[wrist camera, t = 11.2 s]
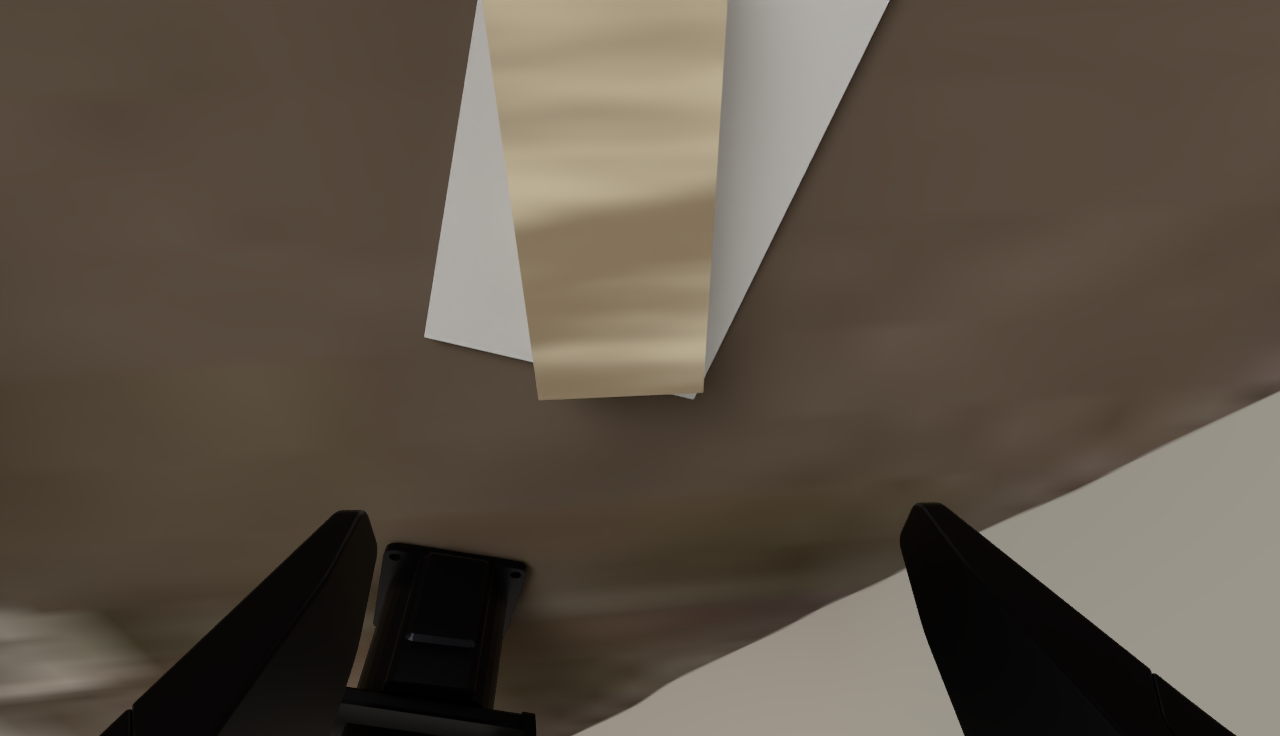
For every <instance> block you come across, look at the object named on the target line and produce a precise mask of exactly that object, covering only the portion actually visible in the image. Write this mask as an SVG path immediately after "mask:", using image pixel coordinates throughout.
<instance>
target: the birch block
mask: <svg viewBox="0 0 1280 736" xmlns="http://www.w3.org/2000/svg"><path fill="white" fill-rule="evenodd" d="M482 4H483V11H484V18H485V25H486V32H487V39H488V46H489V53H490V60H491V68H492V75H493V82H494V89H495V96H496V103H497V110H498V117H499V124H500V131H501V138H502V145H503V152H504V159H505V166H506V173H507V181H508V188H509V195H510V202H511V209H512V216H513V223H514V230H515V237H516V244H517V251H518V258H519V265H520V272H521V279H522V286H523V293H524V301H525V308H526V315H527V322H528V329H529V336H530V343H531V350H532V357H533V364H534V371H535V378H536V385H537V392H538V399H539V400H555V399H577V398H599V397H621V396H644V395H666V394H688V393H703V388H704V372H705V356H706V340H707V324H708V308H709V292H710V276H711V260H712V244H713V228H714V212H715V196H716V180H717V164H718V148H719V132H720V116H721V100H722V84H723V68H724V52H725V36H726V20H727V4H728V0H482Z"/></svg>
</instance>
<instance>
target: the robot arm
mask: <svg viewBox="0 0 1280 736" xmlns="http://www.w3.org/2000/svg"><path fill="white" fill-rule="evenodd" d="M900 547H901V551H902V555H903V559H904V562H905V566H906V569H907V573H908V577H909V580H910V584H911V587H912V591H913V594H914V598H915V602H916V605H917V609H918V613H919V616H920V620H921V623H922V626H923V629H924V633H925V635H926V638H927V641H928V644H929V646H930V649H931V652H932V654H933V657H934V659H935V662H936V664H937V667H938V669H939V672H940V674H941V677H942V679H943V682H944V685H945V687H946V690H947V692H948V695H949V697H950V700H951V702H952V705H953V707H954V710H955V712H956V715H957V718H958V720H959V722H960V725H961V728H962V730H963V733H964V735H965V736H1236V735H1235V734H1233V733H1232V732H1231V731H1229V730H1228V729H1226V728H1225V727H1224V726H1222V725H1221V724H1220V723H1218V722H1217V721H1216V720H1215V719H1213V718H1212V717H1211V716H1209V715H1208V714H1207V713H1206V712H1204V711H1203V710H1201V709H1200V708H1199V707H1198V706H1197V705H1195V704H1194V703H1193V702H1191V701H1190V700H1189V699H1187V698H1186V697H1185V696H1184V695H1182V694H1181V693H1180V692H1178V691H1177V690H1176V689H1175V688H1173V687H1172V686H1171V685H1170V684H1168V683H1167V682H1166V681H1164V680H1163V679H1162V678H1161V677H1159V676H1158V675H1157V674H1154V673H1153V674H1152V673H1151V670H1150V669H1149V668H1148V667H1147V666H1146V665H1144V664H1143V663H1142V662H1141V661H1139V660H1138V659H1137V658H1136V657H1134V656H1133V655H1132V654H1131V653H1129V652H1128V651H1127V650H1125V649H1124V648H1123V647H1122V646H1120V645H1119V644H1118V643H1117V642H1115V641H1114V640H1113V639H1112V638H1110V637H1109V636H1108V635H1107V634H1105V633H1104V632H1103V631H1102V630H1100V629H1099V628H1098V627H1097V626H1095V625H1094V624H1093V623H1092V622H1090V621H1089V620H1088V619H1087V618H1085V617H1084V616H1083V615H1082V614H1080V613H1079V612H1078V611H1076V610H1075V609H1074V608H1073V607H1071V606H1070V605H1069V604H1068V603H1066V602H1065V601H1064V600H1063V599H1061V598H1060V597H1059V596H1058V595H1056V594H1055V593H1054V592H1053V591H1051V590H1050V589H1049V588H1048V587H1046V586H1045V585H1044V584H1043V583H1041V582H1040V581H1039V580H1038V579H1036V578H1035V577H1034V576H1033V575H1031V574H1030V573H1029V572H1027V571H1026V570H1025V569H1024V568H1022V567H1021V566H1020V565H1018V564H1017V563H1016V562H1015V561H1014V560H1012V559H1011V558H1010V557H1009V556H1007V555H1006V554H1005V553H1004V552H1002V551H1001V550H1000V549H998V548H997V547H996V546H995V545H994V544H992V543H991V542H990V541H989V540H987V539H986V538H985V537H984V536H982V535H981V534H980V533H979V532H977V531H976V530H975V529H973V528H972V527H971V526H970V525H968V524H967V523H966V522H965V521H963V520H962V519H961V518H960V517H958V516H957V515H956V514H955V513H953V512H952V511H951V510H950V509H948V508H947V507H946V506H944V505H943V504H941V503H935V502H934V503H917V504H915V505H914V506H913V507H912V509H911V511H910V514H909V516H908V518H907V520H906V522H905V525H904V527H903V529H902V531H901V534H900ZM376 557H377V543H376V539H375V536H374V533H373V530H372V527H371V524H370V520H369V517H368V515H367V513H366V512H365V511H363V510H341V511H338V512H336V513H334V514H333V515H332V516H331V517H330V518H329V519H328V520H327V521H326V522H325V523H324V524H322V525H321V526H320V527H319V528H318V529H317V530H316V531H315V532H314V533H313V534H312V535H311V536H310V537H309V538H308V539H307V540H306V541H305V542H303V543H302V544H301V545H300V546H299V547H298V548H297V549H296V550H295V551H294V552H293V553H292V554H291V555H290V556H289V557H288V558H287V559H286V560H284V561H283V562H282V563H281V564H280V565H279V566H278V567H277V568H276V569H275V570H274V571H273V572H272V573H271V574H270V575H269V576H268V577H267V578H265V579H264V580H263V581H262V582H261V583H260V584H259V585H258V586H257V587H256V588H255V589H254V590H253V591H252V592H251V593H250V594H249V595H248V596H246V597H245V598H244V599H243V600H242V601H241V602H240V603H239V604H238V605H237V606H236V607H235V608H234V609H233V610H232V611H231V612H230V613H229V614H228V615H226V616H225V617H224V618H223V619H222V620H221V621H220V622H219V623H218V624H217V625H216V626H215V627H214V628H213V629H212V630H211V631H210V632H209V633H207V634H206V635H205V636H204V637H203V638H202V639H201V640H200V641H199V642H198V643H197V644H196V645H195V646H194V647H193V648H192V649H191V650H190V651H188V652H187V653H186V654H185V655H184V656H183V657H182V658H181V659H180V660H179V661H178V662H177V663H176V664H175V665H174V666H173V667H172V668H171V669H169V670H168V671H167V672H166V673H165V674H164V675H163V676H162V677H161V678H160V679H159V680H158V681H157V682H156V683H155V684H154V685H153V686H152V687H150V688H149V689H148V690H147V691H146V692H145V693H144V694H143V695H142V696H141V697H140V698H139V699H138V700H137V701H136V702H135V703H134V704H133V705H132V710H131V709H129V710H126V711H125V712H124V713H123V714H122V715H121V716H120V717H119V718H117V719H116V720H115V721H114V722H113V723H112V724H111V725H110V726H109V727H108V728H107V729H106V730H105V731H104V732H103V733H102V734H101V735H100V736H536V720H535V714H534V713H528V712H522V713H521V714H519V713H512V712H506V711H499V710H493V708H494V700H495V692H496V685H497V677H498V669H499V662H500V654H501V647H502V640H503V638H504V635H505V633H506V630H507V627H508V625H509V622H510V619H511V616H512V614H513V611H514V608H515V606H516V603H517V600H518V597H519V595H520V592H521V589H522V587H523V584H524V581H525V579H526V574H527V566H526V565H525V564H524V563H522V562H518V561H511V560H505V559H498V558H492V557H485V556H479V555H472V554H466V553H460V552H453V551H447V550H440V549H434V548H427V547H421V546H414V545H408V544H401V543H391V544H389V545H387V547H386V549H385V552H384V555H383V561H382V568H381V575H380V581H379V588H378V595H377V601H376V608H375V615H374V621H373V623H374V625H375V626H376V628H375V632H374V635H373V638H372V641H371V644H370V648H369V651H368V654H367V657H366V660H365V664H364V667H363V670H362V673H361V676H360V680H359V683H358V686H357V688H351V687H346V685H347V682H348V679H349V676H350V673H351V670H352V667H353V663H354V660H355V657H356V653H357V650H358V645H359V641H360V636H361V632H362V627H363V622H364V617H365V612H366V607H367V602H368V597H369V592H370V587H371V582H372V577H373V572H374V567H375V563H376Z"/></svg>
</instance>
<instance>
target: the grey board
mask: <svg viewBox="0 0 1280 736" xmlns="http://www.w3.org/2000/svg"><path fill="white" fill-rule="evenodd" d="M888 3H889V0H728V4H727V20H726V36H725V52H724V68H723V84H722V100H721V116H720V132H719V148H718V164H717V180H716V196H715V212H714V228H713V244H712V260H711V276H710V292H709V308H708V324H707V340H706V356H705V372H704V377H705V375H706V373H707V371H708V369H709V367H710V365H711V363H712V361H713V359H714V357H715V355H716V353H717V351H718V349H719V347H720V345H721V343H722V341H723V339H724V337H725V335H726V333H727V331H728V328H729V326H730V324H731V322H732V320H733V318H734V316H735V314H736V312H737V310H738V308H739V306H740V304H741V302H742V300H743V298H744V296H745V294H746V292H747V290H748V288H749V286H750V284H751V282H752V280H753V278H754V276H755V273H756V271H757V269H758V267H759V265H760V263H761V261H762V259H763V257H764V255H765V253H766V251H767V249H768V247H769V245H770V243H771V241H772V239H773V237H774V235H775V233H776V231H777V229H778V227H779V225H780V223H781V221H782V218H783V216H784V214H785V212H786V210H787V208H788V206H789V204H790V202H791V200H792V198H793V196H794V194H795V192H796V190H797V188H798V186H799V184H800V182H801V180H802V178H803V176H804V174H805V172H806V170H807V168H808V166H809V163H810V161H811V159H812V157H813V155H814V153H815V151H816V149H817V147H818V145H819V143H820V141H821V139H822V137H823V135H824V133H825V131H826V129H827V127H828V125H829V123H830V121H831V119H832V117H833V115H834V113H835V110H836V108H837V106H838V104H839V102H840V100H841V98H842V96H843V94H844V92H845V90H846V88H847V86H848V84H849V82H850V80H851V78H852V76H853V74H854V72H855V70H856V68H857V66H858V64H859V62H860V60H861V58H862V55H863V53H864V51H865V49H866V47H867V45H868V43H869V41H870V39H871V37H872V35H873V33H874V31H875V29H876V27H877V25H878V23H879V21H880V19H881V17H882V15H883V13H884V11H885V9H886V7H887V5H888ZM424 337H426V338H430V339H434V340H439V341H443V342H447V343H452V344H456V345H460V346H465V347H469V348H473V349H478V350H482V351H486V352H491V353H495V354H499V355H504V356H508V357H512V358H517V359H521V360H525V361H529V362H533V357H532V350H531V343H530V336H529V329H528V322H527V315H526V308H525V301H524V293H523V286H522V279H521V272H520V265H519V258H518V251H517V244H516V237H515V230H514V223H513V216H512V209H511V202H510V195H509V188H508V181H507V173H506V166H505V159H504V152H503V145H502V138H501V131H500V124H499V117H498V110H497V103H496V96H495V89H494V82H493V75H492V68H491V60H490V53H489V46H488V39H487V32H486V25H485V18H484V11H483V4H482V0H478V2H477V8H476V14H475V21H474V27H473V33H472V39H471V46H470V52H469V58H468V65H467V71H466V77H465V84H464V90H463V96H462V102H461V109H460V115H459V121H458V128H457V134H456V140H455V147H454V153H453V159H452V165H451V172H450V178H449V184H448V191H447V197H446V203H445V210H444V216H443V222H442V228H441V235H440V241H439V247H438V254H437V260H436V266H435V273H434V279H433V285H432V291H431V298H430V304H429V310H428V317H427V323H426V329H425V336H424ZM696 394H697V393H688V394H672V395H676V396H681V397H685V398H689V399H694V398H695V396H696Z"/></svg>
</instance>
